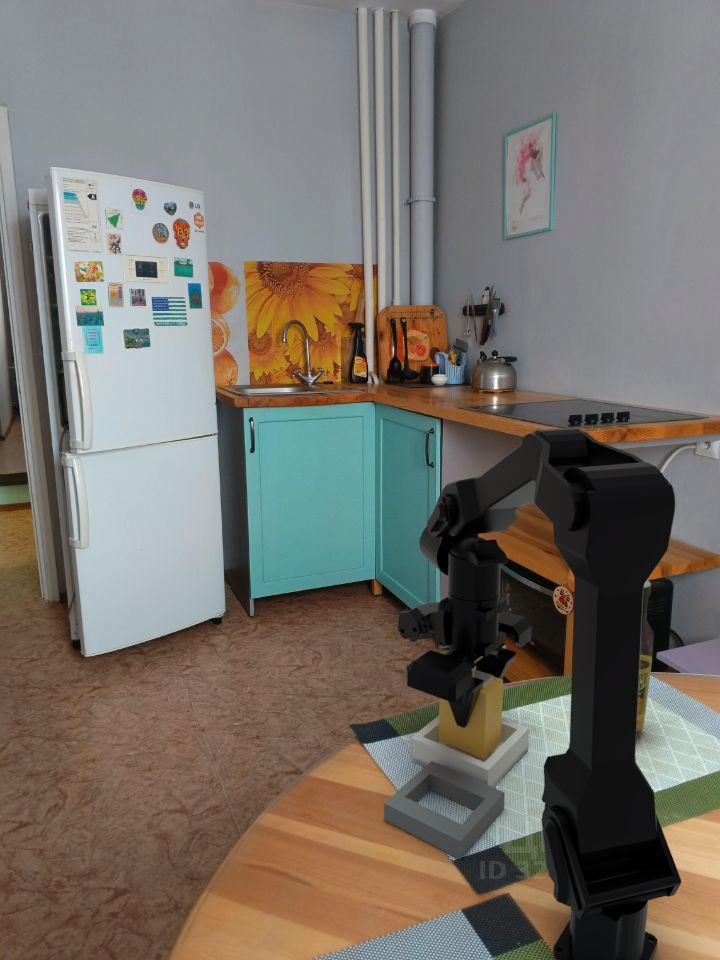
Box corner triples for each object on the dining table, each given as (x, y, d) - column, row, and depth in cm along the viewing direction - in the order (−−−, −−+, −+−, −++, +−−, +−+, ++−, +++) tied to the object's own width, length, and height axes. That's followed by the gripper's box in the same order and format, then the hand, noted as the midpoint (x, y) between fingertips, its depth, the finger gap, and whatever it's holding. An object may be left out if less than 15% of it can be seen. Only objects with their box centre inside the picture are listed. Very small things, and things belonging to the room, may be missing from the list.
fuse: (484, 758, 80) (486, 689, 78) (438, 740, 84) (439, 673, 82) (501, 742, 83) (503, 674, 82) (456, 724, 87) (457, 660, 85)
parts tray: (487, 794, 77) (488, 770, 77) (410, 760, 83) (411, 737, 83) (528, 750, 85) (529, 728, 84) (455, 722, 91) (455, 701, 90)
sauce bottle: (591, 742, 87) (601, 587, 82) (588, 714, 92) (597, 569, 88) (649, 749, 85) (662, 592, 81) (642, 720, 91) (654, 573, 86)
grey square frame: (460, 859, 68) (460, 841, 68) (384, 820, 74) (384, 803, 73) (503, 809, 75) (504, 792, 75) (431, 776, 81) (431, 760, 80)
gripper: (454, 555, 92) (453, 667, 95) (365, 601, 77) (366, 730, 81) (535, 573, 85) (530, 693, 88) (454, 627, 71) (451, 767, 74)
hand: (470, 717), depth 83 cm, fingers closed on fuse, 4 cm apart
